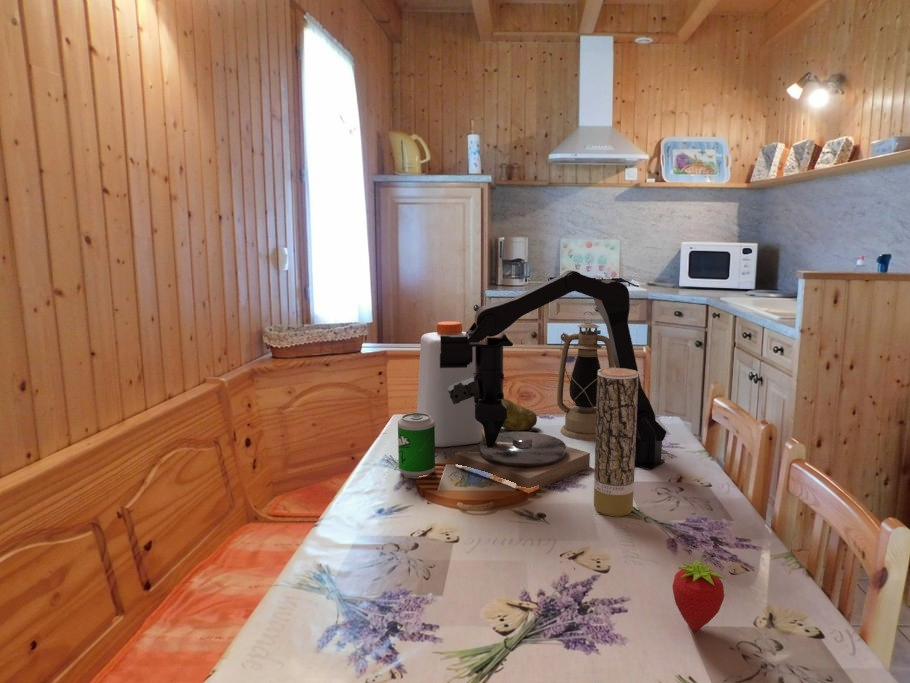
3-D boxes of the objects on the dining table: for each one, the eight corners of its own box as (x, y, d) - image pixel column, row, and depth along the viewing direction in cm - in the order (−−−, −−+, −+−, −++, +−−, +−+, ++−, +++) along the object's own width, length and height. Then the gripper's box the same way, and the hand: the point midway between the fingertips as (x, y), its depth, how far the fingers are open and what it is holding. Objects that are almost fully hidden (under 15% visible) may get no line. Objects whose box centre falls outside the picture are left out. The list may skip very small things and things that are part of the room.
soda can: (437, 467, 133) (436, 412, 131) (432, 480, 126) (432, 422, 124) (402, 466, 134) (401, 411, 132) (395, 479, 127) (394, 421, 125)
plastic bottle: (412, 431, 158) (410, 320, 153) (469, 425, 162) (469, 317, 158) (428, 450, 144) (426, 328, 139) (490, 443, 148) (490, 325, 143)
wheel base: (589, 466, 133) (589, 452, 133) (529, 493, 119) (529, 478, 119) (516, 444, 147) (516, 431, 147) (455, 466, 133) (455, 452, 133)
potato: (533, 436, 153) (533, 404, 152) (481, 432, 157) (481, 400, 156) (538, 426, 161) (538, 395, 160) (489, 422, 165) (489, 392, 164)
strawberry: (721, 618, 80) (726, 544, 79) (721, 654, 73) (727, 574, 72) (672, 608, 82) (676, 536, 81) (668, 642, 76) (672, 564, 74)
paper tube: (634, 519, 108) (640, 376, 104) (593, 516, 110) (597, 375, 105) (631, 503, 115) (637, 368, 111) (593, 500, 116) (597, 367, 112)
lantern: (619, 429, 158) (623, 310, 153) (610, 443, 148) (615, 316, 143) (562, 422, 164) (565, 307, 159) (550, 435, 154) (552, 313, 149)
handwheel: (567, 440, 140) (568, 412, 138) (564, 470, 122) (564, 437, 121) (486, 435, 143) (486, 408, 142) (472, 463, 126) (472, 432, 125)
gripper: (451, 358, 139) (451, 427, 142) (448, 377, 121) (449, 455, 123) (501, 358, 139) (501, 426, 142) (507, 377, 121) (506, 455, 123)
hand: (489, 440), depth 132 cm, fingers open, 9 cm apart
